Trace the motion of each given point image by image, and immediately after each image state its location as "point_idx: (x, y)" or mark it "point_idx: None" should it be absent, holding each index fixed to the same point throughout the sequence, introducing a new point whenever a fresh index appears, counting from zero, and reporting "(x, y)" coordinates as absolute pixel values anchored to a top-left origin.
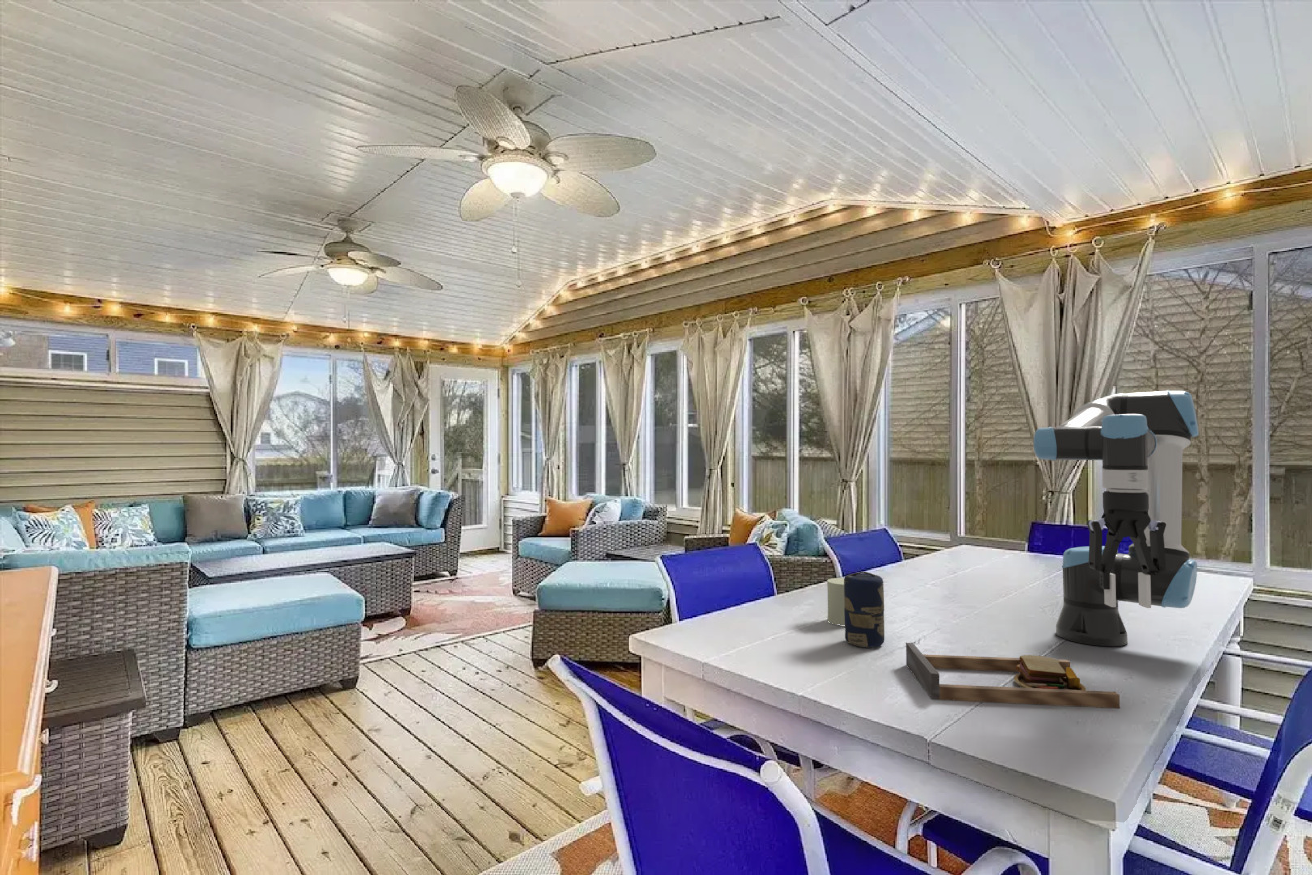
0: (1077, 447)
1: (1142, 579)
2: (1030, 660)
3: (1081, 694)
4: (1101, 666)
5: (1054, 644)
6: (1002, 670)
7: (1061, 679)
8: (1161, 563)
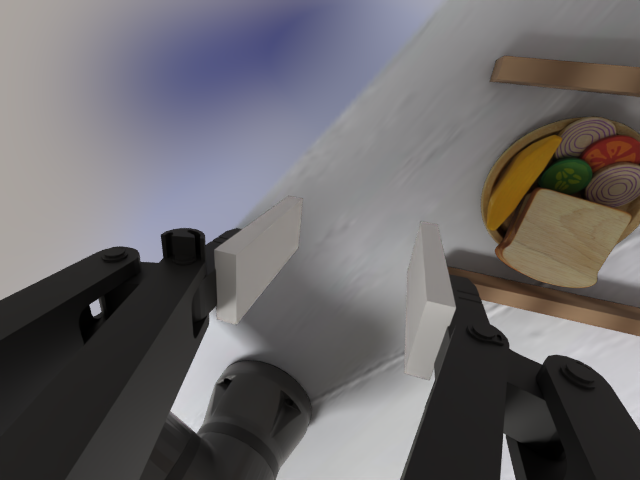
0: None
1: (251, 274)
2: (583, 260)
3: (605, 65)
4: (341, 289)
5: (344, 390)
6: (582, 296)
7: (523, 203)
8: (88, 274)
